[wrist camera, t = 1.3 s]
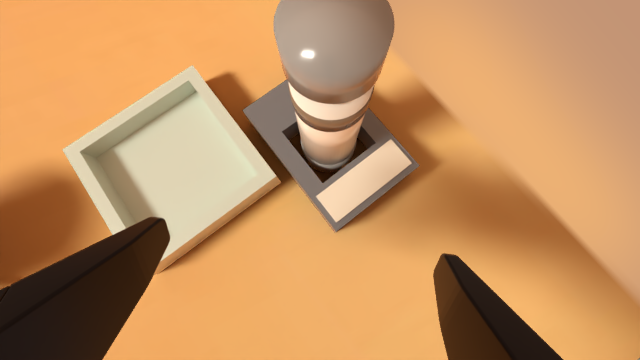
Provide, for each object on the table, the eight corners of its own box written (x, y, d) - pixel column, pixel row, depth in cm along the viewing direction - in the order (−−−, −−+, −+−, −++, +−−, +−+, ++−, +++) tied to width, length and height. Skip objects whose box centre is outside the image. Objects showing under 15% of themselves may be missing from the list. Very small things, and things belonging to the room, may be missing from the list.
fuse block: (409, 173, 23) (420, 164, 20) (334, 232, 22) (336, 231, 20) (322, 73, 25) (322, 53, 23) (250, 123, 24) (241, 108, 22)
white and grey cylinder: (364, 151, 24) (419, 30, 10) (323, 182, 23) (322, 99, 9) (332, 114, 24) (343, -46, 11) (292, 143, 24) (250, 14, 10)
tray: (281, 182, 23) (276, 176, 21) (158, 273, 22) (138, 277, 19) (204, 81, 25) (192, 65, 23) (88, 158, 24) (62, 149, 21)
